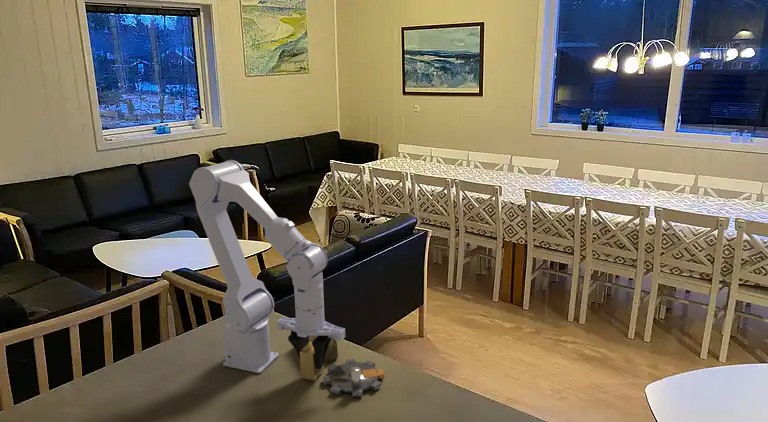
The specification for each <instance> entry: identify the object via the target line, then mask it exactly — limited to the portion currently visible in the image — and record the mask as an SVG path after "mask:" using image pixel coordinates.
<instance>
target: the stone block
mask: <svg viewBox="0 0 768 422" xmlns="http://www.w3.org/2000/svg"><path fill="white" fill-rule="evenodd" d="M315 338H317V336H309V341H308V343H309V342H310V341H313V340H314V339H315ZM338 358H339V352H338V341H337V339H335V338H332V340H331V342H330V344H329V346H328V349H327V352H326V355H325V360H324V363H329V362H332V361H334V360H336V359H338Z"/></svg>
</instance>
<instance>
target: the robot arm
mask: <svg viewBox="0 0 768 422" xmlns="http://www.w3.org/2000/svg"><path fill="white" fill-rule="evenodd" d="M250 179H251V178H250V173H248V172H247V171H246V170H245V169H244V168H243V166H242V165H241V163H239V162H238V161H236V160H233V159H229V160H225V161H224V162H220V163H216V164H213V165H209V166H202V167H198V168H197V169H195V170H194V172H193V173H192V176H191V178H190V180H189V183H188V185H189V188H190V189H191V193H192V195H193V198H194V200H195V207H196V212H197V214H198V216H199V219H200V221H201V223H202V227H203V229H204V231H205V235H206V238H207V240H208V241H209V244H210V247H211V249H212V251H213V254H214V256H215V259H216V262H217V264H218V266H219V269H220V272H221V274H222V277H223V279H224V282H225V284H226V286H227V289H226V291H225V293H224V296H223V299H222V305H223V307H224V318H225V321H226V326H225V328H224V329H223V334H222V341H223V351H224V352H223V353H224V359H225V360H224V362H223V363H222V366H223V367H228V368H233V369H238V370H243V371H247V372H252V373H257V374H261V373H262V372H264V370H266V368H267V367H268V366H269V365H270V364H272V363H273V362H274V361H276V359H277V358H278V357H279V356H280V354H279V352H274V351H271V341H270V327H269V321H270V318H271V317H270V314H272V313H273V311H274V309H275V301H274V298H273V296H272V294H271V293H270V292H269V291H268V290H267V288H266V286H265V283H264V282H263V281H261V280H259V279H256V278H255V277H254V276H253V275H252V272H251V270H250V267H249V265H248V262H247V260H246V257H245V254H244V252H243V249H242V247H241V244H240V242H239V239H238V236H237V235H236V231H235V230H234V226H233V224H232V221H231V219H230V216H229V214H228V211H227V207H228V206H229V203H230V202H231V203H232V202H233V203H237V204H238V205H239V206H240V207H241V208H242V209H243V210H244V211H245V212H246V213H247V214H248V215H249V216H250V217H252V218H253V219H254V220H255V221H256V222H257V223H258V224H259V225H260V226H261V227H262V228H263V229H264V238H265V240H266V241H267V242H268V243H269V244H270V245H271V246H272V247H273V248H274V250H275V251H276V252H277V253H278V254H279V255H280V256H281V257H282V258H283V260H284V261H285V262H286V263H288V264H286V271H287V272H288V275H289V276H290V277H291V279H292V280H291V281H292V285H293V290H294V291H293V292H294V304H295V305H294V307H295V309H294V310H295V317H280V318H279V319H278V320H276V326H277V328H276V329H277V330H278V331H283V330H285V331H286V330H287V331H290V335H289V336H287V337H288V338H287V339H288V342H289V343H290V344H291V346H292V347H293V348H294V350H295V353H296V354H297V357H298V360H299V361H300V351H301V350H302V349H303V348H304V347H305V346H306V345H307V344H308V341H309V336H317V338H315V339H314V340H313V341H312V345H313V348H314V351H315V357H316V368H317V369H320V368H321V367H322V366H323V365H324V366H325V362H324V360H325V355H326V352H327V349H328V346H329V344H330V342H331V340H332V338H335V340H336V342H342V341H343V340H344V339H345V338H346V328H344V327H340V326H337V325H334V324H333V323H330V322H328V321H326V320H325V300H324V298H325V297H324V276H323V274H324V273H323V270H324V269H325V268H326V267H327V265H328V262H329V261H328V255H327V253H326V251H325V249H324V248H323V247H322V245H321V244H318V243H314V242H312V241H310V240H308V239H307V238H306V237H305V236H303V234H302V233H301V232H300V231H299V230H298V229H297V228H296V224H295V223H294V222H293V221H292V220H289V219H288V218H286V217H279V216H277V214H276V213H275V212H274V210H273V209H272V208H271V207H270V205H269V204H268V203H267V202H266V201H265V199H264V197H262V195H261V194H260V193H259V191H258V190H257V188H255V186H253V184H252V182H251V180H250Z"/></svg>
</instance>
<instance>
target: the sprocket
mask: <svg viewBox="0 0 768 422" xmlns="http://www.w3.org/2000/svg"><path fill="white" fill-rule="evenodd" d="M375 367H376V362H374V361H370V360H368V359H367V360H366V361H364V362H361V361H359V362H358V361H356V359H355V358H350V359H345V362H344V363H342V364H339V365H337V364H335V363H333V364H332V365H329V367H327V372H328V373H329V374H328V375H327V374H326V375H322V383H323V386H325V385H326V386H327V385H330V386H331V387H330V388H329V390H330V392H331V394H334V395H337V396H339V395H340V394H342V393H347V394H348V393H349V394H351V395H352V397H353V398H354V397H361V396H363V393H364V392H366V391H368V390H371V391H372V390H373V391H375V392H376V391H377V390H378V389H379V388H381V386H382V382H381V381H379V379H385V372H384V370H383V369H381V368H379V369H376V368H375Z"/></svg>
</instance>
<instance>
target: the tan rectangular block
mask: <svg viewBox="0 0 768 422" xmlns="http://www.w3.org/2000/svg"><path fill="white" fill-rule="evenodd" d="M299 363H300V364H299V365H300V377H301V379H305V380H310V381H316V380H317V378H318V376H320V375H321V373H323V371H324V370H325V364H324V365H323V366H322V367H321V368H320V369H317V368H316V357H315V351H314V348H313V345H312V341H310V342H309V343H308V344H307V345H306V346H305V347H304V348H303V349H302V350H301V351H300V360H299Z"/></svg>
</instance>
